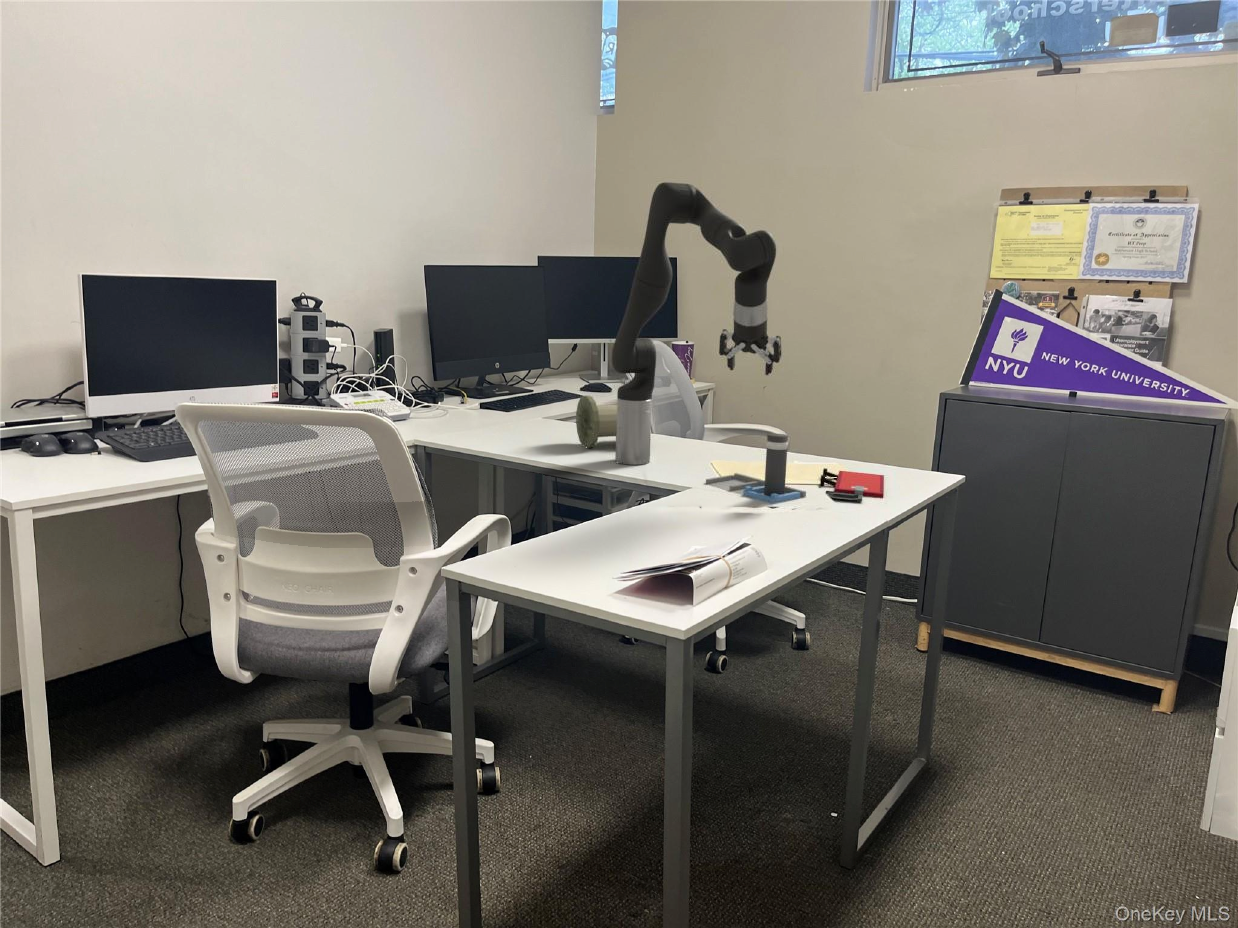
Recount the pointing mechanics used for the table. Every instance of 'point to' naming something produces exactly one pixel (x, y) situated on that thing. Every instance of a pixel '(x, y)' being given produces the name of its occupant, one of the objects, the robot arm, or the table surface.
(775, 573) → the table surface
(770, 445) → the banded grey cylinder
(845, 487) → the red board with handle
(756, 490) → the blue and grey tray
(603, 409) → the spool
